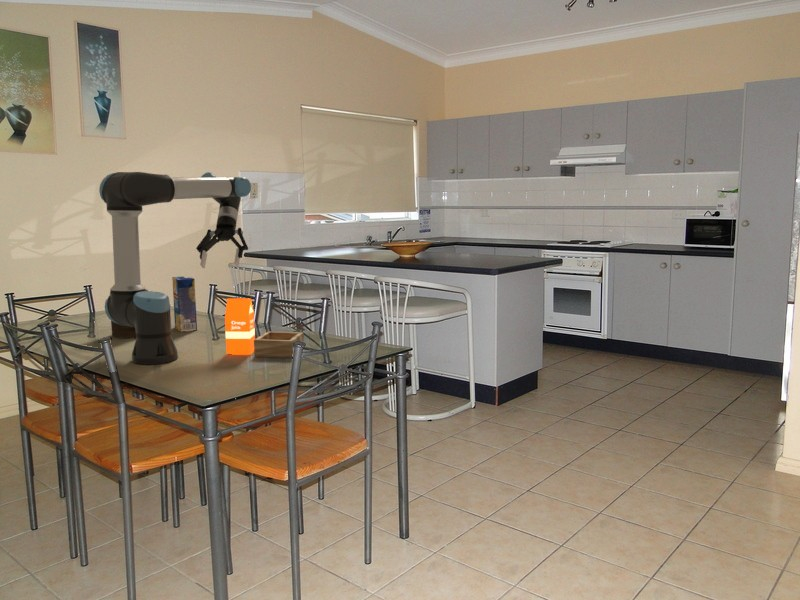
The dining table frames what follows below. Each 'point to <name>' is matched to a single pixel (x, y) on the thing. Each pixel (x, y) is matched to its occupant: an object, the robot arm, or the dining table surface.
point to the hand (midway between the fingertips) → (219, 265)
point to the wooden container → (123, 330)
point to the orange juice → (239, 326)
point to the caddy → (276, 344)
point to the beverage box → (184, 303)
